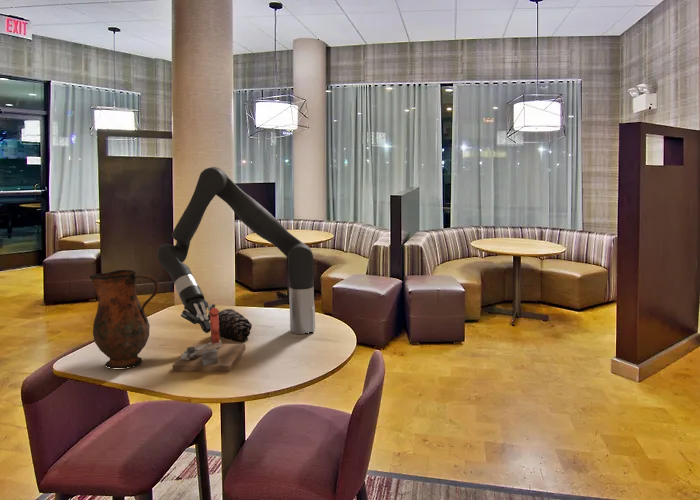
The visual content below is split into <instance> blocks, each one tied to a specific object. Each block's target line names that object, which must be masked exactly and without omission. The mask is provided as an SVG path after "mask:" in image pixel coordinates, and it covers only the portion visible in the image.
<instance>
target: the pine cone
mask: <svg viewBox="0 0 700 500" xmlns="http://www.w3.org/2000/svg"><path fill="white" fill-rule="evenodd" d="M218 315H219V334H220V338H222V339H225V340H228V341H232V342H235V343H237V344H243V343H246V342H248V340H249V336H250V334H251V330H252V328H253V324H252V323H251V322H250V321H249V319H248V318H246V317H245V316H244V315H242V314H241V313H240V312H238V311H236V310H234V309H232V308H225V309H224V310H221V311H220V310H219V314H218Z"/></svg>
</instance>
